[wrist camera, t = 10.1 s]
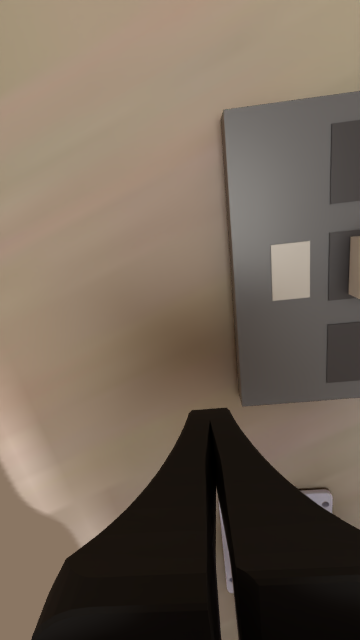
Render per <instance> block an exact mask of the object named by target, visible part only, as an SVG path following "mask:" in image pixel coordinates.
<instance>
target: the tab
mask: <svg viewBox="0 0 360 640" xmlns="http://www.w3.org/2000/svg"><path fill="white" fill-rule="evenodd" d="M348 294H349V295H352V296H354V297H356V298H358V299H360V236H353V237H351V241H350V267H349V293H348Z"/></svg>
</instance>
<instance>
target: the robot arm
mask: <svg viewBox="0 0 360 640" xmlns="http://www.w3.org/2000/svg"><path fill="white" fill-rule="evenodd" d="M216 488H217V493H218V498H219V511H220V521H221V532H222V542H223V552H224V563H225V573H226V583H227V590H228V591H229V592H230V593H234V602H235V611H236V620H237V629H238V638H239V640H360V530H359V529H357V528H355V527H353V526H352V525H350V524H348V523H346V522H345V521H343V520H341V519H340V518H338V517H337V516H335V515H333V514H332V504H333V497H332V494H331V492H330V491H329V490H326V489H320V490H303V491H299V490H298V489H297V488H296V487H295V486H293V485H292V484H291V483H290V482H289V481H287V480H286V479H285V478H284V477H283V476H282V475H281V474H280V473H279V472H278V471H277V470H275V469H274V468H273V467H272V466H271V465H270V464H269V462H268V461H267V460H266V459H265V458H264V457H263V456H262V455H261V454H260V453H259V452H258V450H257V449H256V448H255V447H254V446H253V445H252V443H251V442H250V441H249V439H248V438H247V437H246V436H245V434H244V433H243V432H242V430H241V429H240V427H239V426H238V424H237V423H236V421H235V420H234V418H233V416H232V414H231V413H230V410H228V409H227V408H217V409H204V410H192V411H191V412H190V413H189V415H188V418H187V421H186V423H185V426H184V428H183V430H182V432H181V434H180V436H179V438H178V440H177V442H176V444H175V446H174V448H173V449H172V451H171V453H170V454H169V456H168V457H167V459H166V461H165V462H164V464H163V465H162V467H161V468H160V470H159V471H158V473H157V474H156V475H155V477H154V478H153V479H152V481H151V482H150V483H149V484H148V486H147V487H146V488H145V489H144V490H143V492H142V493H141V494H140V495H139V496H138V497H137V498H136V500H135V501H134V502H133V503H132V504H131V505H130V506H129V507H128V508H127V509H126V510H125V511H124V512H123V513H122V514H121V515H120V516H119V517H118V518H117V519H116V520H114V521H113V522H112V523H111V524H110V525H109V526H108V527H107V528H106V529H105V530H103V531H102V532H101V533H100V534H98V535H97V536H96V537H95V538H93V539H92V540H91V541H89V542H88V543H87V544H85V545H84V546H83V547H82V548H80V549H79V550H78V551H76V552H75V553H74V554H72V555H71V556H69V557H68V558H67V559H66V560H65V562H64V564H63V566H62V568H61V570H60V572H59V574H58V576H57V578H56V580H55V582H54V584H53V586H52V588H51V590H50V592H49V595H48V597H47V599H46V602H45V605H44V607H43V610H42V613H41V615H40V618H39V620H38V623H37V626H36V628H35V631H34V633H33V636H32V640H221V631H220V617H219V604H218V590H217V576H216ZM323 502H325V503H323Z"/></svg>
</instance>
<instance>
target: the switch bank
mask: <svg viewBox="0 0 360 640" xmlns="http://www.w3.org/2000/svg"><path fill="white" fill-rule="evenodd" d="M221 129H222V144H223V159H224V175H225V190H226V205H227V220H228V235H229V250H230V266H231V281H232V296H233V311H234V326H235V341H236V356H237V372H238V387H239V396H240V400H241V404H242V407H243V406H256V405H269V404H282V403H295V402H308V401H321V400H335V399H348V398H360V299H358V298H356V297H354V296H352V295H349V294H348V293H349V267H350V241H351V237H353V236H360V91H357V92H349V93H342V94H335V95H327V96H320V97H313V98H306V99H298V100H291V101H284V102H277V103H269V104H262V105H255V106H247V107H240V108H233V109H226V110H223V113H222V117H221Z"/></svg>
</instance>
